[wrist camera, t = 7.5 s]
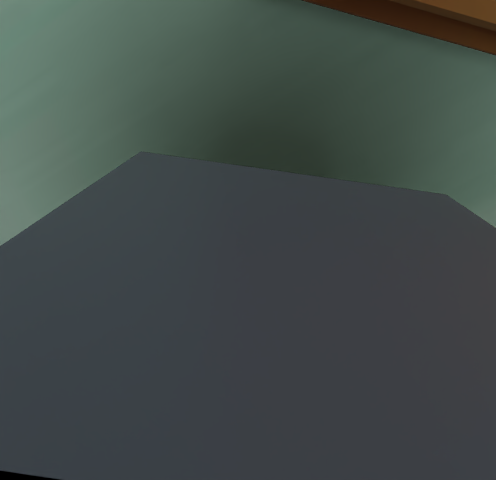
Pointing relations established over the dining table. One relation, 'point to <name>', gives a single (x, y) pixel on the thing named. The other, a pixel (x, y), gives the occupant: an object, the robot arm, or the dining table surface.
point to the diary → (430, 18)
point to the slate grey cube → (248, 331)
